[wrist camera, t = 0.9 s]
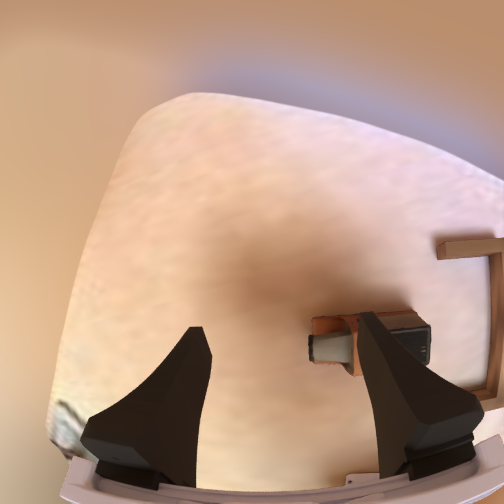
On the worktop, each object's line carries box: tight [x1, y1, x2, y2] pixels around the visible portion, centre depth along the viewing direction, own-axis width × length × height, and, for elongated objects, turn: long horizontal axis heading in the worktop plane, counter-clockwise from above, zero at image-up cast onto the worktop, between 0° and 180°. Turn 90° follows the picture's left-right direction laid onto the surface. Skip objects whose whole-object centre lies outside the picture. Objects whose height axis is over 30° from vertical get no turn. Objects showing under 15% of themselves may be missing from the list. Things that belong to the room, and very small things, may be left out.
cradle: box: [437, 238, 504, 412], centre depth 20 cm, size 15×7×3 cm, turn 1°
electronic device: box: [308, 310, 431, 377], centre depth 22 cm, size 4×10×8 cm, turn 92°
